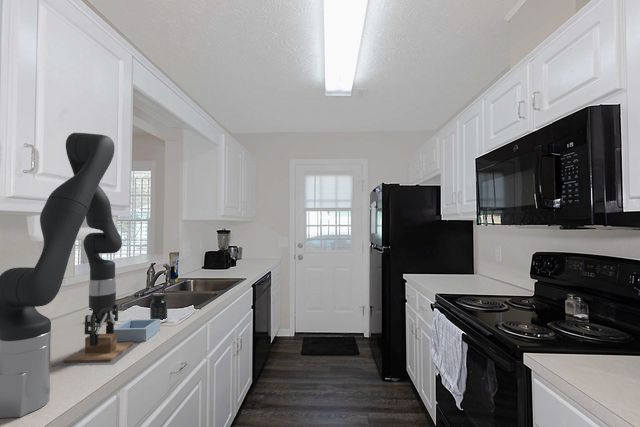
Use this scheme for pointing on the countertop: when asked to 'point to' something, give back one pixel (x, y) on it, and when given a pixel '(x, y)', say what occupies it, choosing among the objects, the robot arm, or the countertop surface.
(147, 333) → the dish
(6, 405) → the robot arm
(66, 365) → the mat
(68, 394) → the countertop surface
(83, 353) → the lid
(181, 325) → the countertop surface
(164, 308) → the supplement bottle
